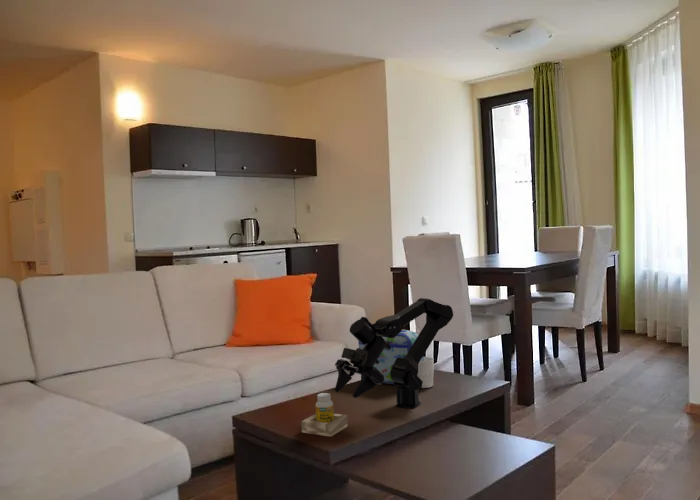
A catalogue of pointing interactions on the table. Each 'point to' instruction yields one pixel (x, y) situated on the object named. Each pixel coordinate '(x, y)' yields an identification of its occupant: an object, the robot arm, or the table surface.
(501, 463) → the table surface
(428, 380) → the white cup
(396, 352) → the lunch box
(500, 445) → the table surface
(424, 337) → the robot arm
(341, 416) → the holder
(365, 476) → the table surface
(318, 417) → the supplement bottle
